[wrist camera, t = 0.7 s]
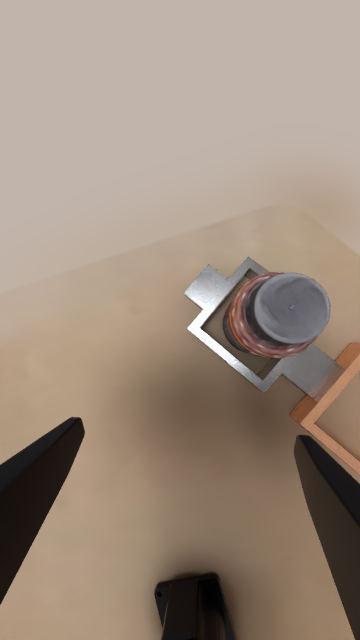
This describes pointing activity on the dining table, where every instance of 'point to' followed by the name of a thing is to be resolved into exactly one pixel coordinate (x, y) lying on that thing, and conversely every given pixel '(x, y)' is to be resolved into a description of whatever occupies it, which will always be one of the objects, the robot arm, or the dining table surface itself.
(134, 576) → the dining table surface
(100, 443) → the dining table surface
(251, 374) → the socket rail
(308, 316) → the supplement bottle
